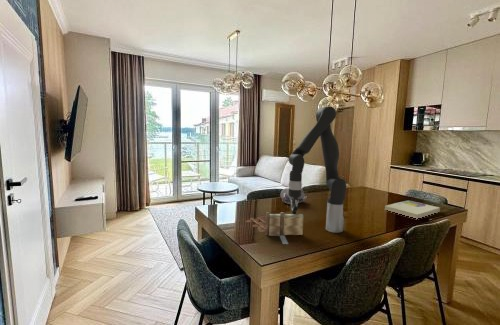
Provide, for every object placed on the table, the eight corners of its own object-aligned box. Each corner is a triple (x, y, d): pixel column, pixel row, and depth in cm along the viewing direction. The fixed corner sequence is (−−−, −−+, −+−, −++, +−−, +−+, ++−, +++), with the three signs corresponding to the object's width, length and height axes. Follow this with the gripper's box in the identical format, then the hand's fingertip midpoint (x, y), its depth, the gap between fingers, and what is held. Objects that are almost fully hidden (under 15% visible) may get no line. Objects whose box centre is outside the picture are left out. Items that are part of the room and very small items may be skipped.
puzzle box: (384, 211, 195) (417, 220, 174) (384, 205, 194) (417, 214, 174) (408, 205, 213) (440, 213, 193) (408, 200, 213) (441, 207, 192)
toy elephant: (297, 201, 221) (295, 184, 222) (310, 201, 206) (308, 184, 207) (279, 205, 211) (277, 187, 212) (292, 206, 196) (290, 187, 197)
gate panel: (284, 234, 140) (285, 215, 139) (283, 233, 142) (284, 214, 141) (302, 234, 141) (303, 215, 140) (301, 233, 143) (302, 214, 142)
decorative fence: (263, 218, 170) (244, 221, 164) (263, 216, 170) (244, 219, 163) (282, 230, 150) (261, 234, 143) (283, 227, 150) (261, 231, 143)
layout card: (300, 233, 145) (300, 232, 145) (308, 244, 130) (308, 243, 130) (260, 233, 144) (260, 232, 144) (263, 244, 129) (263, 244, 129)
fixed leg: (283, 233, 143) (284, 212, 141) (283, 235, 140) (284, 213, 139) (265, 233, 142) (265, 212, 140) (265, 235, 140) (266, 213, 138)
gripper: (304, 190, 137) (302, 220, 139) (299, 185, 150) (297, 213, 152) (290, 190, 137) (289, 220, 139) (286, 185, 150) (285, 213, 152)
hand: (293, 216), depth 146 cm, fingers closed
